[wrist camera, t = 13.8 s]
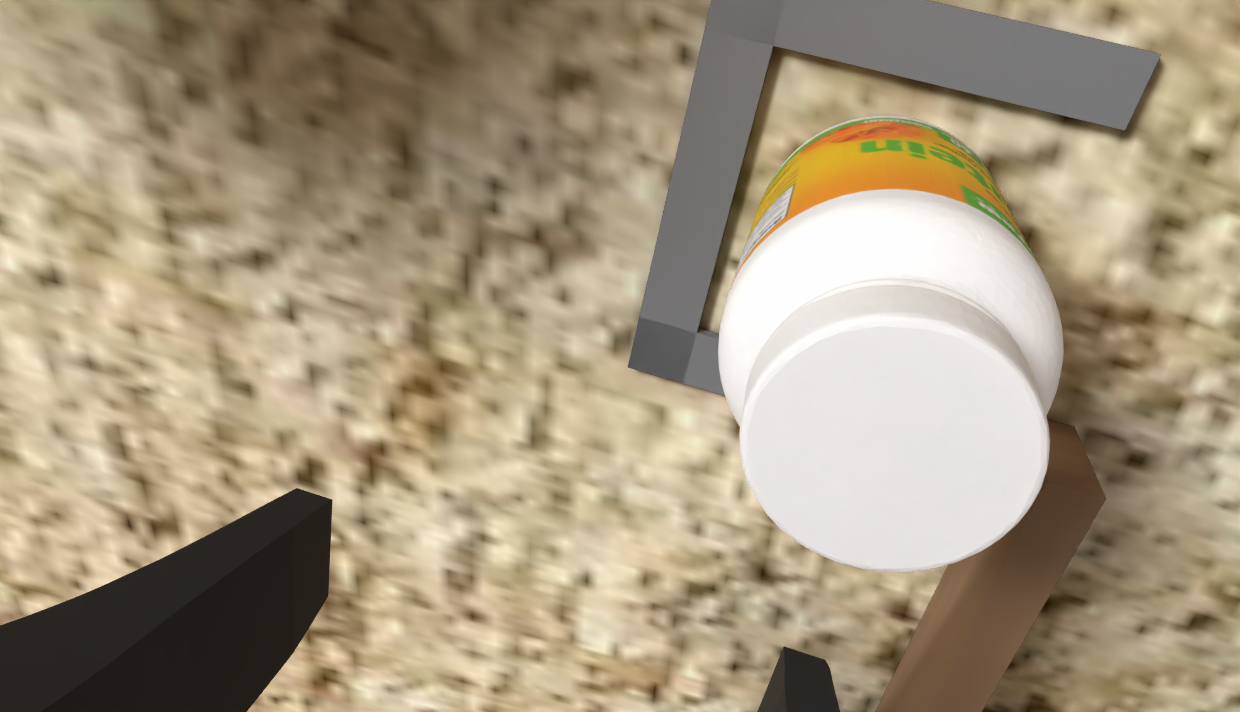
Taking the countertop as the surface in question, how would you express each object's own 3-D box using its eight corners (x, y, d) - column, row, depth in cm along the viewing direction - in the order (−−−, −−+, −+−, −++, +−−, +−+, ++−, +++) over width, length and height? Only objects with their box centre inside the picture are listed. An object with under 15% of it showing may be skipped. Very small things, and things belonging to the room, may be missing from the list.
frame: (1156, 52, 17) (1160, 54, 17) (964, 459, 22) (965, 466, 22) (724, -47, 18) (721, -47, 18) (630, 362, 23) (628, 367, 23)
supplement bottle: (1053, 178, 19) (1220, 389, 10) (917, 374, 21) (959, 671, 13) (825, 68, 19) (802, 186, 10) (718, 276, 21) (628, 507, 13)
